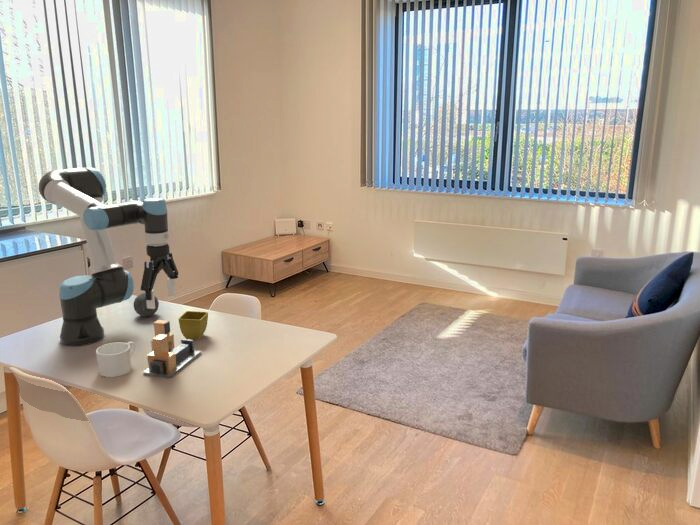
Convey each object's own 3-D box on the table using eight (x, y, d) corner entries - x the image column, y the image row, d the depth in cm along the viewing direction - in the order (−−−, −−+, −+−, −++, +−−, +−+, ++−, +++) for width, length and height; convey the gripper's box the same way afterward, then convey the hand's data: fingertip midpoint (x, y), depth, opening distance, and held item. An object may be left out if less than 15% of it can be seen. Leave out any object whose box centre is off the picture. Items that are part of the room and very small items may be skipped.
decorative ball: (164, 315, 239) (162, 293, 236) (141, 321, 232) (139, 298, 229) (152, 310, 246) (150, 288, 243) (130, 315, 239) (128, 293, 236)
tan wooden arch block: (164, 346, 208) (162, 317, 205) (175, 348, 207) (173, 318, 204) (152, 355, 201) (149, 324, 198) (163, 356, 200) (161, 326, 197)
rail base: (143, 374, 186) (140, 339, 183) (176, 350, 205) (174, 318, 202) (170, 378, 184) (167, 342, 181) (201, 353, 203) (199, 321, 199)
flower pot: (209, 333, 221) (208, 311, 219) (202, 342, 213) (200, 319, 210) (188, 332, 222) (186, 310, 219) (179, 341, 213) (177, 318, 211)
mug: (111, 380, 182) (109, 357, 180) (91, 372, 187) (88, 350, 185) (146, 365, 193) (144, 343, 191) (126, 358, 198) (123, 336, 196)
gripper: (146, 253, 182) (151, 315, 187) (185, 236, 205) (189, 292, 211) (125, 251, 183) (131, 312, 189) (167, 235, 207) (171, 290, 213)
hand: (162, 302), depth 200 cm, fingers open, 13 cm apart
